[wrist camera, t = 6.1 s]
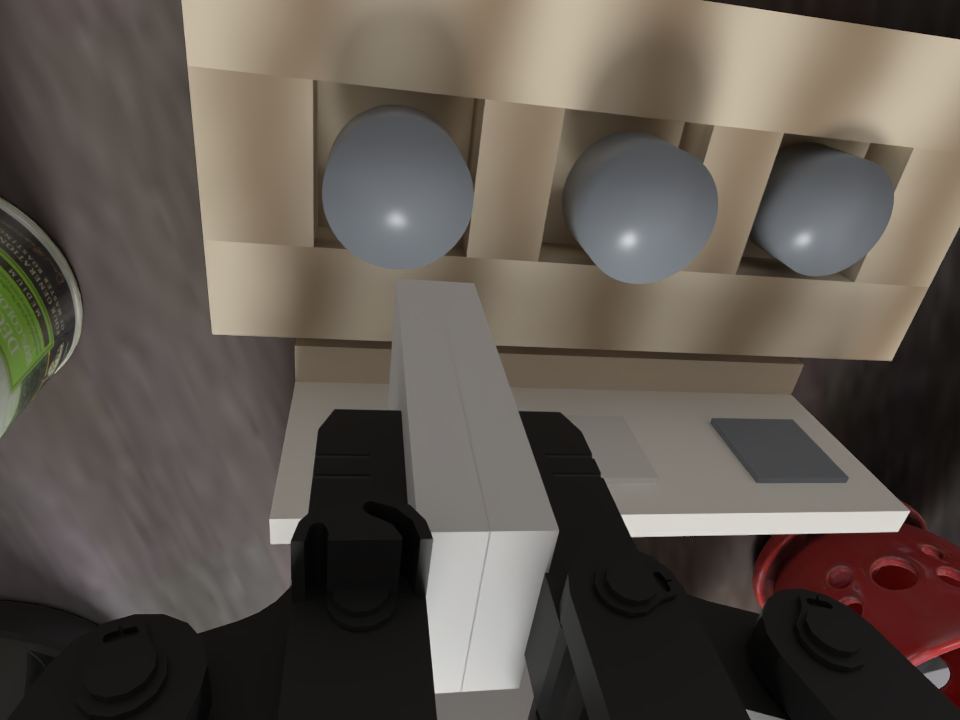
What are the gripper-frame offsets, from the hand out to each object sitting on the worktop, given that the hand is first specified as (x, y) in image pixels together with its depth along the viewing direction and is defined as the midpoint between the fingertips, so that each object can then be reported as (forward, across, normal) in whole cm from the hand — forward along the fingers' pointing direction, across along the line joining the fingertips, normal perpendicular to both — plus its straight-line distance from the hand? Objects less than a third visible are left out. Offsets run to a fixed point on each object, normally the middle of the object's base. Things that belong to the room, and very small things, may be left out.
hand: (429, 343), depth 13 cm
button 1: (+15, +18, 0) cm, 23 cm away
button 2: (+13, 0, 0) cm, 13 cm away
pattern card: (+16, +9, -11) cm, 21 cm away
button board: (+16, +9, 0) cm, 18 cm away
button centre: (+13, +9, 0) cm, 16 cm away
